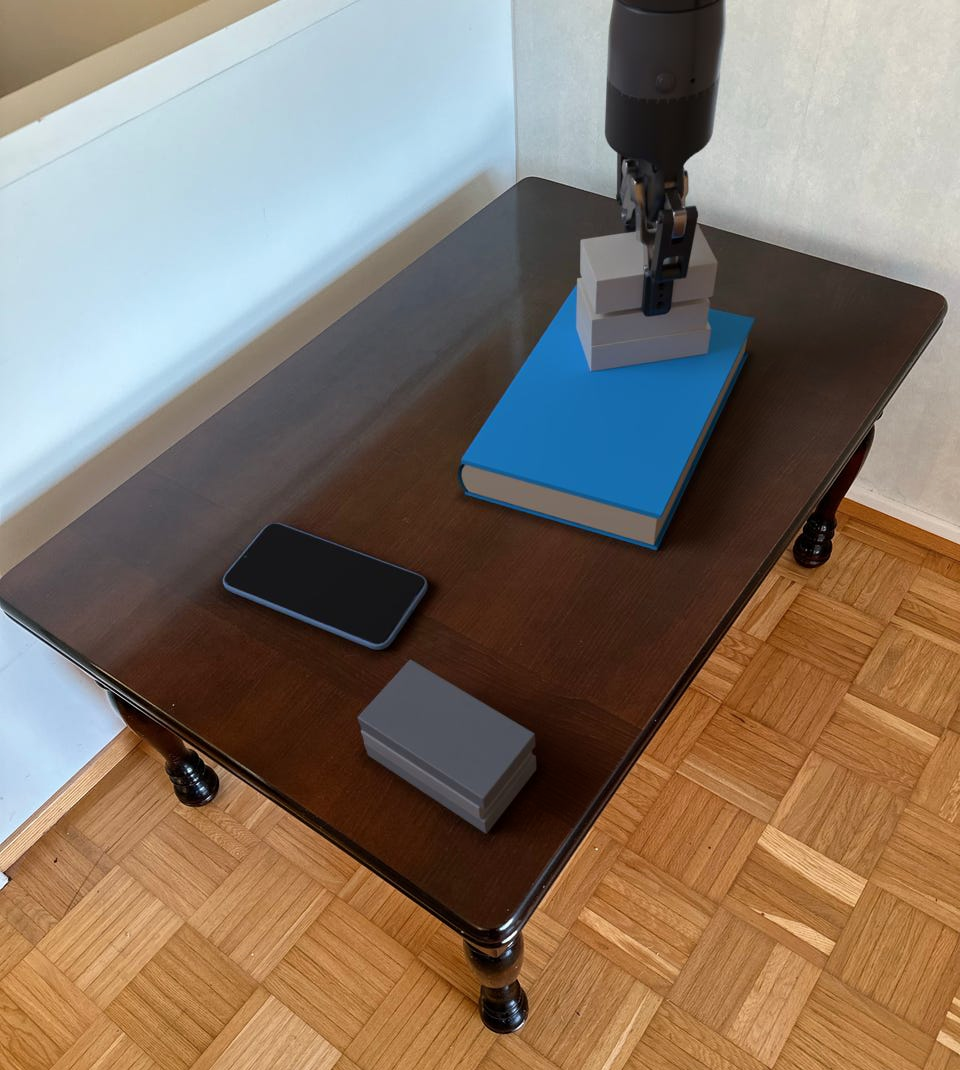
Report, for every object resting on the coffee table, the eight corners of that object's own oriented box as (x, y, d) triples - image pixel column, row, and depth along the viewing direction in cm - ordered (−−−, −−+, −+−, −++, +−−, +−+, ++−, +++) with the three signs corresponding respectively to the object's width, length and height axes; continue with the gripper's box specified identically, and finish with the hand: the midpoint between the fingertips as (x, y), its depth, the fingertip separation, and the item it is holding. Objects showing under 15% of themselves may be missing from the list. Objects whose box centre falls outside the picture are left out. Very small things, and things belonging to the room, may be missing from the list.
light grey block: (692, 255, 78) (696, 221, 75) (713, 296, 74) (718, 262, 72) (579, 273, 77) (580, 239, 75) (595, 314, 74) (596, 281, 72)
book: (755, 316, 81) (665, 512, 68) (747, 358, 85) (660, 552, 72) (570, 279, 86) (454, 455, 73) (569, 319, 90) (458, 494, 77)
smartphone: (383, 649, 67) (215, 582, 72) (385, 655, 68) (219, 589, 73) (432, 575, 71) (270, 516, 75) (433, 582, 71) (272, 523, 76)
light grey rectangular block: (688, 311, 82) (694, 259, 78) (707, 354, 79) (715, 302, 75) (576, 328, 82) (576, 277, 78) (590, 371, 78) (592, 320, 74)
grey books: (538, 769, 62) (536, 732, 58) (487, 835, 59) (482, 800, 55) (419, 696, 66) (409, 656, 62) (367, 755, 63) (354, 717, 59)
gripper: (752, 109, 58) (716, 336, 72) (689, 14, 67) (667, 234, 80) (634, 127, 58) (620, 351, 72) (585, 29, 67) (581, 247, 80)
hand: (645, 288), depth 76 cm, fingers closed on light grey block, 5 cm apart
